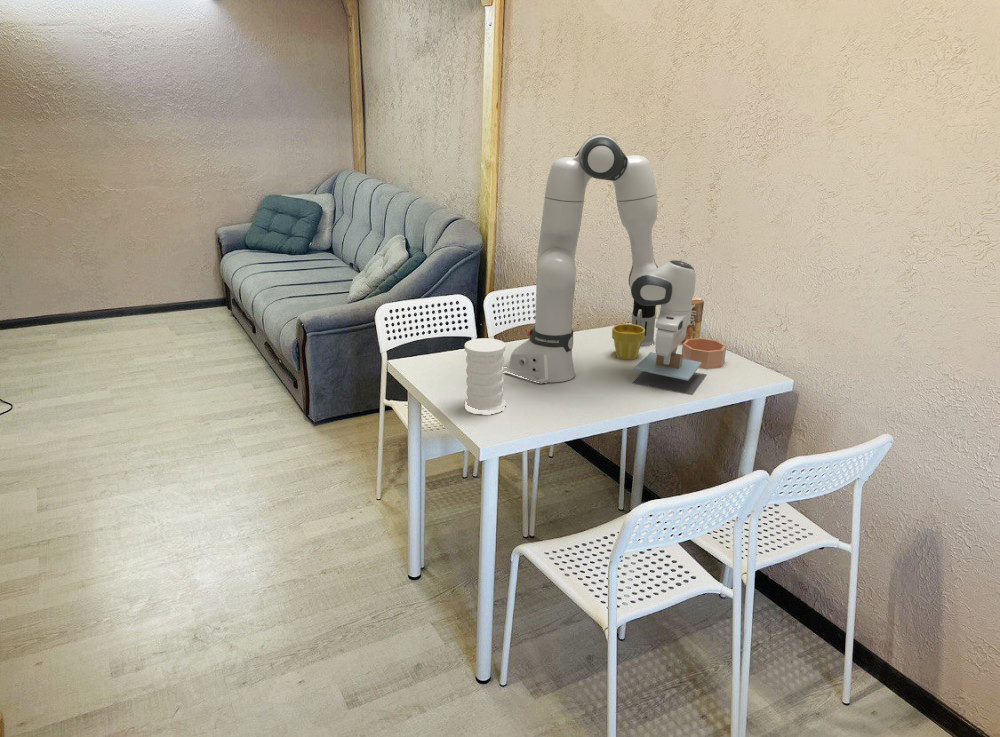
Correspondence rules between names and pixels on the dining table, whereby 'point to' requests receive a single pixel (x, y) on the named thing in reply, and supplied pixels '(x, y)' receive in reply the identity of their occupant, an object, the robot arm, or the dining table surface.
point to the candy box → (695, 320)
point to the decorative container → (485, 373)
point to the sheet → (669, 366)
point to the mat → (670, 382)
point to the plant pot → (627, 340)
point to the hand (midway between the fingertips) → (668, 361)
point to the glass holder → (645, 321)
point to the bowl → (704, 352)
